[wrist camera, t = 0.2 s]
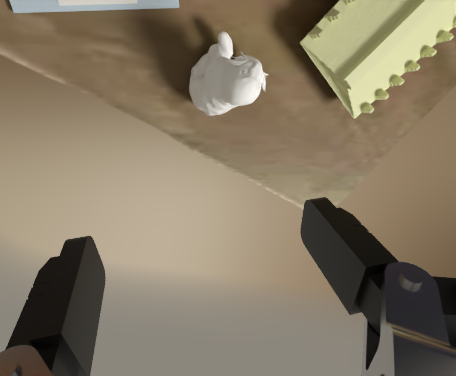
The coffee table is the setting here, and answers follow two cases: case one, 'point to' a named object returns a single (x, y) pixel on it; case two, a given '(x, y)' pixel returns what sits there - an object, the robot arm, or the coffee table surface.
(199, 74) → the white rounded figure
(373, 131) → the coffee table surface
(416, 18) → the spiky scrub brush
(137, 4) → the board
